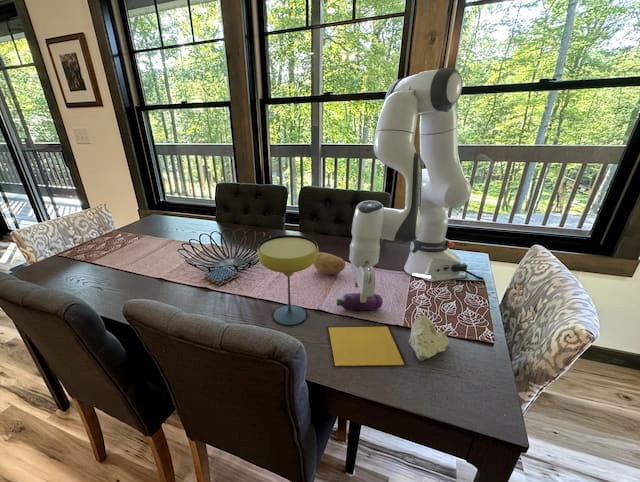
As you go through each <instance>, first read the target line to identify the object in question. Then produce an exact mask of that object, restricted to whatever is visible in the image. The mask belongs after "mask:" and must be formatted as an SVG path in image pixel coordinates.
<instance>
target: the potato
mask: <svg viewBox="0 0 640 482" xmlns="http://www.w3.org/2000/svg"><path fill="white" fill-rule="evenodd" d="M346 265H347V264H346V262H345V260H344V259H343V258H342V257H339V256H337V255H335V254H331V253H327V252H321V251H319V252H318V258H317V260H316V261H315V263H314V264H313V266H314V268H315V269H316V270H317V271H318V272H321V273H323V274H324V275H337V274H339V273H341V272H342V271H343V270H344V269H345V268H346Z"/></svg>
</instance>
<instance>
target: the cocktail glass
mask: <svg viewBox="0 0 640 482" xmlns="http://www.w3.org/2000/svg"><path fill="white" fill-rule="evenodd" d="M256 251H257V259H258V262H259V263H260V264H261V265H262V266H263V267H265V268H266V269H268V270H269V271H273V272H276V273H281V274H283V275H284V276H285V277H287V305H282V306H280V307H278V308H277V309H276V310H275V311H274V312H273V319H274V320H275V322H277V323H278V324H281V325H283V326H295V325H298V324H300V323H302V322H304V321H305V320H306V318H307V312H306V311H305V309H304V308H302V307H301V306H298V305H293V304H292V303H291V301H292V300H291V277H292V276H293V275H294V274H295V273H298V272H301V271H305V270H306V269H308V268H311V266H314V263H315V261H316V260H317V258H318V253H319V245H318V243H317V242H316V241H315V240H314V239H312V238H310V237H307V236H303V235H298V234H297V235H296V234H283V235H276V236H272V237H269V238H266V239H263V240H262V241H261V242H260V243H259V244H258V246H257V249H256Z"/></svg>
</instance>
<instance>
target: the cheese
mask: <svg viewBox="0 0 640 482" xmlns="http://www.w3.org/2000/svg"><path fill="white" fill-rule="evenodd" d="M410 328H411V329H410V338H409V340H408V343H409V345H410V346H411V348H412V350H413V351H414V352H415V355H416V357H417V359H418V360H419V361H420V362H423V361H425V359H426V360H427V359H430V358H432V357H434V356H435V355H437V354H441V353H444V352H446V350H447V347H448V346H449V344H450V340H449V338H448V336H447V334H445V333H443V332H439V331H437V329H436V327H435V325H434V323H433V322H432V320H431V319H429V317H428V316H426V315H424V314H423V315H420V316H419V317H417V318H415V320H414V321H413V323H412V325H411V327H410Z"/></svg>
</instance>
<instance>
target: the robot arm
mask: <svg viewBox="0 0 640 482" xmlns="http://www.w3.org/2000/svg"><path fill="white" fill-rule="evenodd" d="M462 90H463V76H462V75H461V73H460V72H459V70H458V69H457V68H454V67H442V68H439V69H433V70H425V71H421V72H418V73H416V74H413V75H409V76H407V77H402V78H400V79H397V80H395V81H394V82H392V83H391V84H390V85H389V86H388V89H387V91H386V94H385V97H384V101H383V105H382V106H381V107H382V108H381V109H380V113H379V116H378V120H377V125H376V128H375V133H374V138H373V153H374V155H375V157H376V159H377V160H378V161H379V162H380V163H382V164H384V166H387V167H388V168H391V169H393V170H394V171H396V172H398V173H399V174H401V175H402V177H403V179H404V182H405V194H404V195H405V196H404V197H405V198H404V208H403V209H397V208H389V207H385V206H384V205H383V204H382V203H381V202H380V201H378V200H364V201H361V202H359V203H358V204H357V205H356V206H355V210H354V214H353V218H352V224H351V237H352V238H351V241H350V244H349V258H348V260H349V262H350V268H351V270H352V273H353V276H354V286H355V288H358V290H359V293H361V295H360V302H361V303H365V302H366V299H367V297H371V296H373V295H374V293H375V289H376V272H375V270H374V266H375V265H377V264H378V263H379V259H380V252H381V240H387V241H391V242H394V243H398V244H400V245H408V244H410V247H409V250H410V251H409V254H408V257H407V260H406V261H405V264H404V266H403V270H404V271H405V272H406V273H407V274H408V275H410V276H413V277H415V278H419V279H423V280H425V281H427V282H431V283H433V282H440V281H448V280H457V279H464V278H466V275H467V274H468V275H470V276H472V277H474V278H476V279H478V280H482V281H483V280H484V277H483V276H479V275H476V274H474V273H473V272H471V271H469V270H467V269H468V264H466V263H465V262H463V263H461V259H460V257H459V256H458V255H457V254H456V253H455V252H454V251H453V250H452V248H454V246H455V243H454V242H453V241H451V240H449V239H448V238H446V235H447V232H448V231H447V230H448V227H449V216H448V215H447V211H446V209H458V208H460V207H463V206H464V205H465V204H466V203H467V202H468V201H469V199H470V197H471V195H472V186H471V183H470V182H469V180H468V179H467V178H466V176H465V174H464V172H463V168H462V165H461V164H462V163H461V161H460V157H459V150H458V149H459V148H458V129H459V127H458V123H459V122H458V109H457V102H458V101H459V99H460V97H461V94H462ZM418 116H420V118H419V150H420V151H419V153H420V154H419V153H418V152H417V151H416V148H415V135H416V130H417V124H418ZM423 165H424V166H425V168H423Z"/></svg>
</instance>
